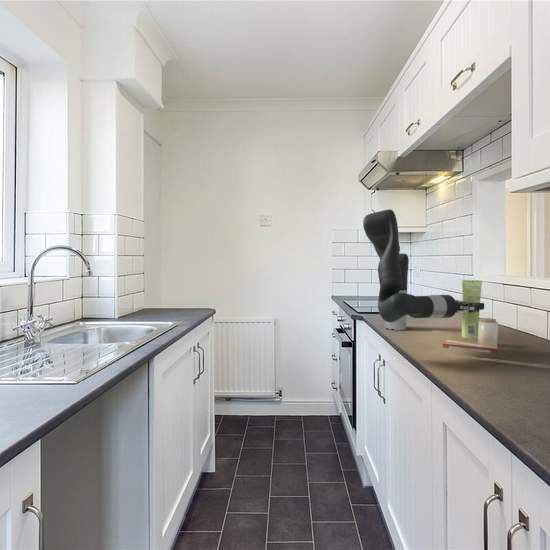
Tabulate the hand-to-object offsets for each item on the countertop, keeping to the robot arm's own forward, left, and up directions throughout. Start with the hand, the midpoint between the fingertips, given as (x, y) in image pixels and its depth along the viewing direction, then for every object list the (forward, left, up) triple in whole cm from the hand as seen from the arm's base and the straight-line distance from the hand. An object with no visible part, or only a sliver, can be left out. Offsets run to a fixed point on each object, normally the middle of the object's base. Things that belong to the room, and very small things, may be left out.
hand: (477, 305), depth 129 cm
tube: (+2, -2, -11) cm, 12 cm away
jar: (-6, +3, -14) cm, 16 cm away
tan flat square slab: (-1, -2, -15) cm, 15 cm away
